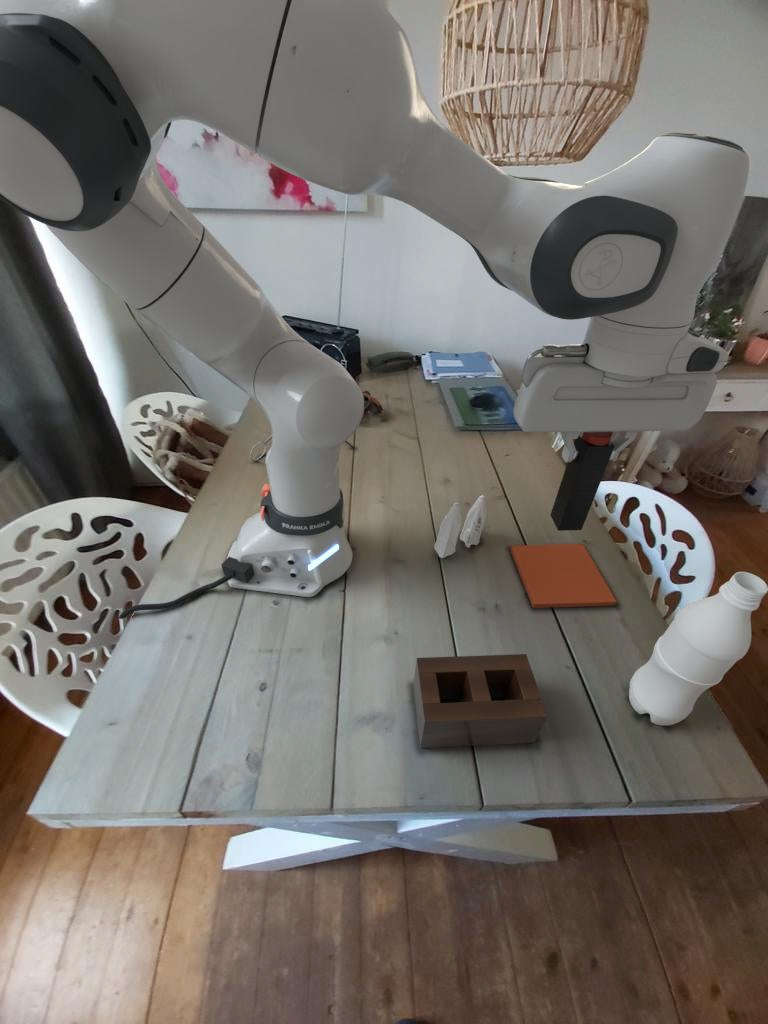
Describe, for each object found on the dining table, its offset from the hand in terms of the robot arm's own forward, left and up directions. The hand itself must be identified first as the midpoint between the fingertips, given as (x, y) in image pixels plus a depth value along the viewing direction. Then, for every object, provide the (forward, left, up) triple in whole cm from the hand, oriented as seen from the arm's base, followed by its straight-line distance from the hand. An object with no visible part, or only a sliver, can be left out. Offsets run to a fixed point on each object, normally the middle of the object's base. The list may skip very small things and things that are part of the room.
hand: (588, 459), depth 53 cm
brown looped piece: (-26, +69, -30) cm, 79 cm away
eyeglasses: (-42, +49, -30) cm, 71 cm away
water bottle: (+11, -16, -30) cm, 36 cm away
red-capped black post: (0, 0, -10) cm, 10 cm away
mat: (+7, +8, -29) cm, 31 cm away
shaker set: (-10, +16, -30) cm, 35 cm away
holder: (-14, -16, -29) cm, 36 cm away
